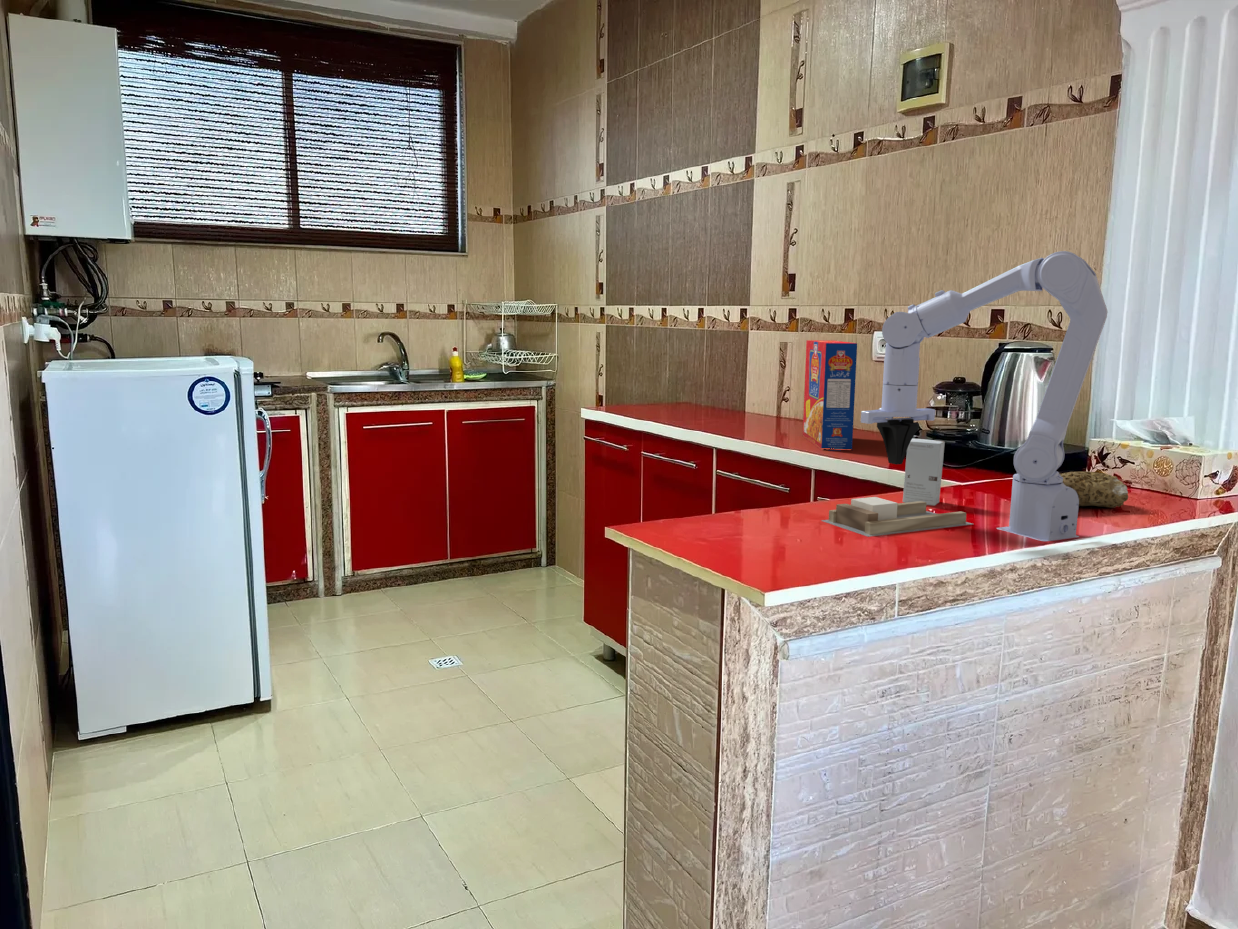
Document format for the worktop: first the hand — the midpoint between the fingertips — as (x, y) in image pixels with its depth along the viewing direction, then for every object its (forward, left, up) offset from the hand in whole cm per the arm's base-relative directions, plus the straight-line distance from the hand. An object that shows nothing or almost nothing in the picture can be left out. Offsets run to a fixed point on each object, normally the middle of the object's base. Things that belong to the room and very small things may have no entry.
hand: (895, 463), depth 153 cm
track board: (-5, +4, -10) cm, 11 cm away
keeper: (-5, +9, -9) cm, 13 cm away
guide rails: (-5, +4, -10) cm, 11 cm away
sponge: (-5, -36, -10) cm, 38 cm away
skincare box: (+6, -12, -10) cm, 17 cm away
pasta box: (+81, -47, -10) cm, 95 cm away
